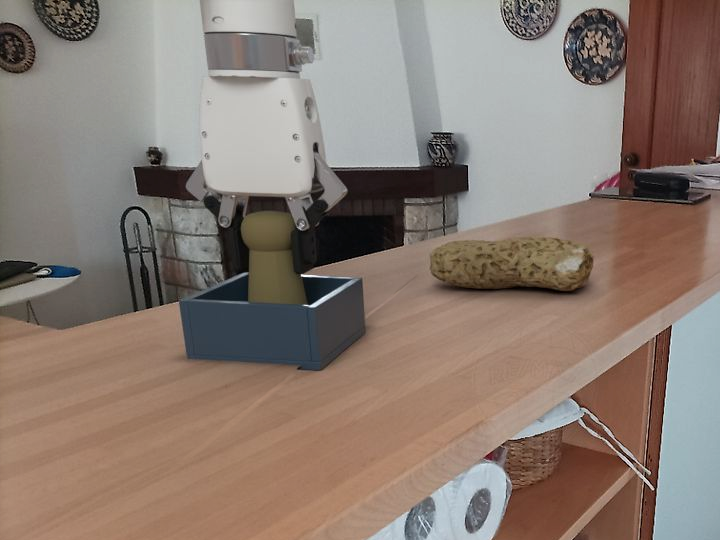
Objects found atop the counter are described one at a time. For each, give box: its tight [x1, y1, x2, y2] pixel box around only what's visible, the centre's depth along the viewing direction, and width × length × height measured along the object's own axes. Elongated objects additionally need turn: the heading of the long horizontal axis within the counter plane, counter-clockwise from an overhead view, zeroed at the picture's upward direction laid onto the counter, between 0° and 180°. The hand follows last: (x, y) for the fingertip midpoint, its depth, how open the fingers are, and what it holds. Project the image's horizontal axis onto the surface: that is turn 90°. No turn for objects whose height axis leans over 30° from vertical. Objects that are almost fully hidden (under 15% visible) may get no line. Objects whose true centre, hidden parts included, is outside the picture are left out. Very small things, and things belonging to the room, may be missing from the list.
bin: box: [178, 271, 366, 371], centre depth 75 cm, size 13×13×6 cm
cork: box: [241, 210, 308, 305], centre depth 74 cm, size 6×6×11 cm
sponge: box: [429, 236, 595, 292], centre depth 101 cm, size 13×8×20 cm
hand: (274, 267), depth 73 cm, fingers closed on cork, 5 cm apart
